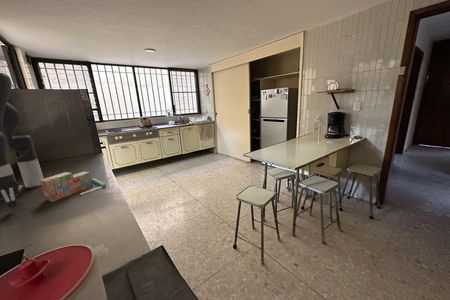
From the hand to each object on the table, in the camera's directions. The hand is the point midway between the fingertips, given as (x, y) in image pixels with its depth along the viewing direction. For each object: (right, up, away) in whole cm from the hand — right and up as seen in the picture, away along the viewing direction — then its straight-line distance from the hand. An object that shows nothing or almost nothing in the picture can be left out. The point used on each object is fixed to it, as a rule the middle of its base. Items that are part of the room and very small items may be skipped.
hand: (13, 207), depth 90 cm
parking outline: (+18, +5, +24) cm, 31 cm away
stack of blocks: (+13, +3, +19) cm, 23 cm away
